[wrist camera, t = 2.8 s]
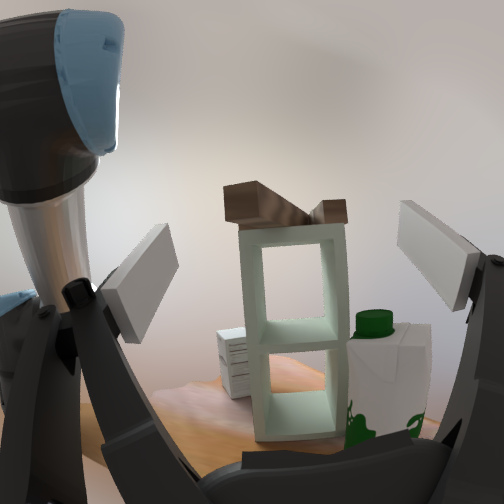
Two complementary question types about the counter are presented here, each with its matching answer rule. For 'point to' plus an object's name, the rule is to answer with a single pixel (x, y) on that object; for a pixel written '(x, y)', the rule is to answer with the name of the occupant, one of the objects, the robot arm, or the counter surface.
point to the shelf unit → (297, 337)
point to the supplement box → (234, 362)
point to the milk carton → (387, 376)
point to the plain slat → (260, 207)
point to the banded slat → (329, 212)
